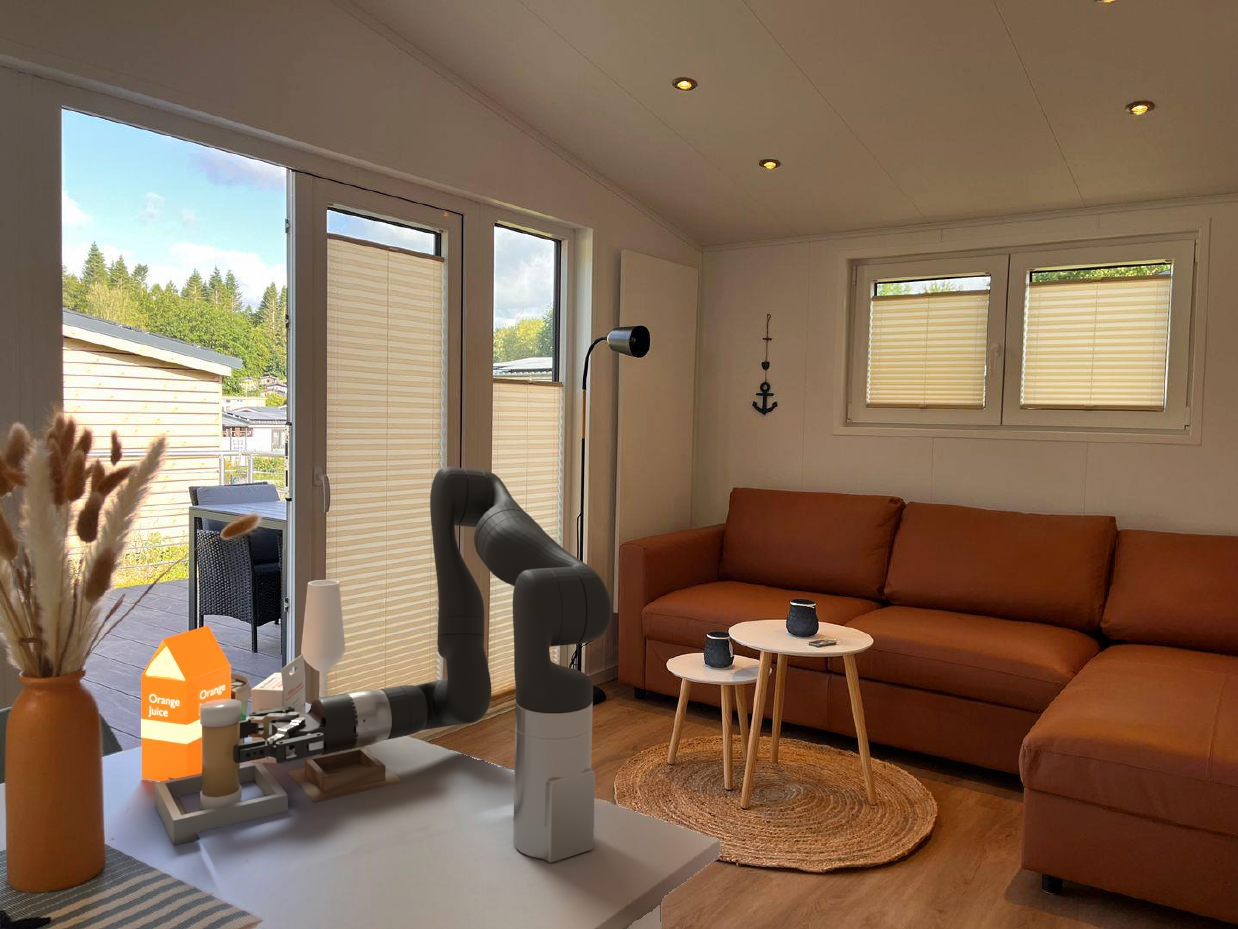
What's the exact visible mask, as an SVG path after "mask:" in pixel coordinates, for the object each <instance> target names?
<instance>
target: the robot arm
mask: <svg viewBox="0 0 1238 929" xmlns="http://www.w3.org/2000/svg"><path fill="white" fill-rule="evenodd" d="M430 488H431V489H430V495H429V496H430V497H429V500H430V501H429V509H430V512H429V513H430V524H431V532H432V533H431V534H432V547H433V553H434V554H433V556H434V564H435V565H434V566H435V572H436V573H435V574H436V582H437V584H436V585H437V600H438V601H437V602H438V608H437V609H438V611H437V612H438V613H437V642H436V643H437V652H438V654H439V656H440V657H441V658H443V659H444V660H445V663H446V675H447V678H443V679H438V680H435V681H434V680H433V681H430V682H429V681H428V682H425V683H424V682H423V683H420V684H415V685H412V684H409V685H408V684H407V685H405V684H404V685H398V686H392V687H386V688H380V689H366V690H365V689H364V690H357V691H351V692H345V693H340V694H335V695H334V694H333V695H327V697H321V698H319V697H317V698H315V699H314V700H312V702H311V705H310V709H308V711H307V712H305V713H299V712H295V707H293V706H288V707H282V708H276V709H269V710H263V711H256V712H252V711H251V712H249V713H248V717H246V720H243V721H240V739H243V738H244V739H247V738H252V737H262V738H263V739H262V740H257V741H252V740H251V741H247V742H244V743H241V744H236V745H235V746H234V747H233V760H234V762H235V763H240V764H242V763H247V762H252V761H253V760H258V759H263V758H266V757H267V759H268V760H273V759H276V763H275V764H285V763H289V762H293V761H296V760H302V759H306V758H311V757H316V756H321V755H326V754H331V753H336V752H340V751H345V750H350V749H355V748H360V747H369V746H372V745H375V744H377V743H379V742H383V741H388V740H393V739H398V738H402V737H407V736H410V735H414V734H416V733H419V732H420V731H424V730H425V731H426V730H434V729H439V728H446V727H451V726H460V725H461V726H462V725H467V724H468V725H469V724H474V723H476V722H478V721H480V720H481V719H483V717H484V716H486V714H487V712H488V710H489V707H490V704H491V699H492V680H491V675H490V670H489V664H488V659H487V655H486V652H485V646H484V644H485V605H484V597H483V595H482V593H481V592H482V591H481V590H480V588H479V585H478V584H477V582H476V579H475V578H474V576H473V574H472V573H471V571H470V569H469V568H468V566H467V564H466V562H465V560H464V558H463V556H462V554H461V551H460V549H459V546H458V542H457V538H456V530H455V529H456V528H455V526H457V527H458V526H459V527H469V528H475V529H474V534H473V543H474V548H475V552H476V553H477V556H478V557H479V558H480V560H481V561H482V562H483V564H484V565H485V566H486V567H487V569H488V571H489V572H490V573H492V575H493V576H495V577H496V578H497V579H498V580H500V581H502V582H503V583H505V584H508V585H510V586H512V587H513V593H512V626H513V628H512V630H513V651H514V652H513V656H514V659H513V661H514V662H513V666H514V668H513V669H514V683H515V717H514V718H515V720H514V721H515V722H514V723H515V725H514V726H515V727H514V767H513V768H514V773H513V774H514V775H513V776H514V777H513V782H514V783H513V837H512V838H513V839H512V842H513V846H514V847H515V849H516V850H518V851H519V852H520V853H522V854H524V855H526V856H528V857H532V858H537V859H543V860H545V861H546V862H547V863H554V862H557V861H561V860H564V859H566V858H570V857H574V856H576V855H579V854H582V853H585V852H588V851H591V850H594V842H595V840H594V839H595V838H594V836H595V834H594V833H595V793H596V792H595V789H596V788H595V787H596V786H595V785H596V784H595V783H596V773H595V771H594V770H593V769H592V750H593V749H592V748H593V747H592V746H593V745H592V744H593V707H594V706H593V703H594V702H593V701H594V700H593V699H594V693H593V692H594V686H593V680H592V679H591V677H590V676H589V675H588V674H586V673H585V672H584V671H580V670H578V669H575V668H572V667H568V666H564V665H561V664H559V663H558V664H557V663H555V662H553V661H552V660H551V652H550V651H551V650H550V648H551V647H560V646H561V647H562V646H571V645H573V646H574V645H579V644H581V645H582V644H586V643H587V644H588V643H589V642H593V641H595V640H597V639H600V638H601V636H603V635H604V634H605V632H607V630H608V628H609V625H610V623H611V621H612V605H611V604H612V603H611V598H610V595H609V592H608V589H607V586H606V585H605V583H604V581H603V578H601V576H600V575H599V574H598V572H596V570H594V569H593V567H591V566H590V565H588V564H587V563H585V562H584V561H582V560H580V559H579V558H577V557H576V556H574V555H573V554H572V553H570V552H569V551H567V550H566V549H564V548H563V547H562V546H561V545H560V543H558V542H557V541H556V540H555V539H553V538H552V537H551V536H550V535H549V534H548V533H546V531H545V530H544V529H543V528H542V527H541V525H539V523H538V522H537V521H535V519H534V518H532V516H531V515H529V513H527V512H526V511H525V510H524V509H523V508H522V507H521V506H520V505H519V504H518V502H517V501H515V499H514V498H513V496H512V494H510V491H509V490H508V488H507V487H506V485H505V483H504V482H503V481H502V480H501V478H500V477H499V476H498V475H496V474H495V473H493V472H492V471H491V472H490V471H488V470H483V469H482V470H481V469H470V468H463V467H456V466H455V467H454V466H444V467H443V466H442V467H441V468H439V470H438V471H437V472H436V474H435V475H434V477H433V480H432V484H431V487H430ZM263 716H265V717H263ZM259 723H263V724H262V725H259ZM263 730H264V731H263ZM266 741H267V742H266ZM284 762H285V763H284Z"/></svg>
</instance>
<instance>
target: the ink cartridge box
mask: <svg viewBox="0 0 1238 929" xmlns="http://www.w3.org/2000/svg"><path fill="white" fill-rule="evenodd" d="M293 668H296V670H295V671H294V672H291V671H292V670H293ZM305 669H306V668H305V660H304V658H303V655H302V654H300V655H299V656H298V657H296V658H294V659H293V660H291V661H290V662H288V663H287V664H286V665H285V666H283V667H282V668H281V669H280V670H281V671H280V672H274V673H272V674H271V675H269V676H268V677H267V678H265V679H264V680H262V681H261V682H260V683H259V684H257V685H255V686H254V687H252V689H251V697H250V698H251V699H250V701H251V705H250V706H251V712H256V711H263V710H269V709H276V708H282V707H288V706H293V707H295V712H299V713H306V670H305ZM263 717H265V716H263ZM262 724H263V723H259V725H262ZM263 731H264V730H263ZM262 739H263V738H262V737H251V741H257V740H262ZM266 742H267V741H266ZM260 761H261V763H262V764H277V763H276V759H273V760H268V759H267V757H266V758H263V759H258V760H253V761H251V763H255V762H260ZM285 763H286V762H284V763H283V764H285Z"/></svg>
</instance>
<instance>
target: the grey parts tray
mask: <svg viewBox="0 0 1238 929" xmlns="http://www.w3.org/2000/svg"><path fill="white" fill-rule="evenodd" d="M252 781H255V783H256V784H257V786H258V787H260V789H261V791H262V792H263V793H264V795H265V796H263V797H262V796H261V797H257V798H254V799H253V798H252V799H248V800H244V801H241V802H239V803H234V804H230V805H225V806H221V807H216V808H212V809H207V810H200V811H199V810H198V811H193V812H191V813H190V812H189V813H187V811H186V809H185V807H184V804H183V803H182V801H181V799H180V798H179V797H182V796H186V795H190V794H195V793H200V792H201V790H202V773H200V774H195V775H190V776H185V777H180V778H171V779H170V778H169V780H165V781H160V782H154V799H155V801H154V805H155V804H156V806H155V808H156V807H157V808H156V810H157V809H158V810H157V812H158V815H159V816H161V817H160V818H161V821H162V823H163V825H164V827H165V830H166V832H167V834H168V835H169V839H170V841H171V843H172V845H173V846H178V845H181V844H186V843H189V842H194V841H198V840H201V838H200V836H199V834H198V833H201V832H203V831H208V830H212V829H216V828H221V827H225V826H229V825H234V824H237V823H242V822H246V821H250V820H255V819H258V818H264V817H268V816H270V815H276V814H280V813H284V812H288V793H287V792H286V791H285V790H284V789H283V788H282V786H281V785H280V784H279V783H278V781H277V780H276V779H275V778H274V776H273V775H272V773H270V771H269V770H268V769H267V768H266V767H265V765H264V763H261V761H260V762H255V763H253V762H251V763H245V764H240V784H242V783H243V784H244V783H247V782H252Z"/></svg>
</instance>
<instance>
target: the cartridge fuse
mask: <svg viewBox="0 0 1238 929" xmlns="http://www.w3.org/2000/svg"><path fill="white" fill-rule="evenodd" d="M240 720H241V701H239V700H235V699H219V700H213V701H209V702H206V703H204V704H202V705H201V706H200V724H201V725H202V790H201V791H200V792H199V796H200V797H199V801H200V802H199V803H200V805H199V808H200V811H203V810H207V809H212V808H216V807H221V806H225V805H230V804H234V803H239V802H242V785H241V783H240V765H241V763H235V762H234V760H233V747H234V746H235V745H236V744H240Z"/></svg>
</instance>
